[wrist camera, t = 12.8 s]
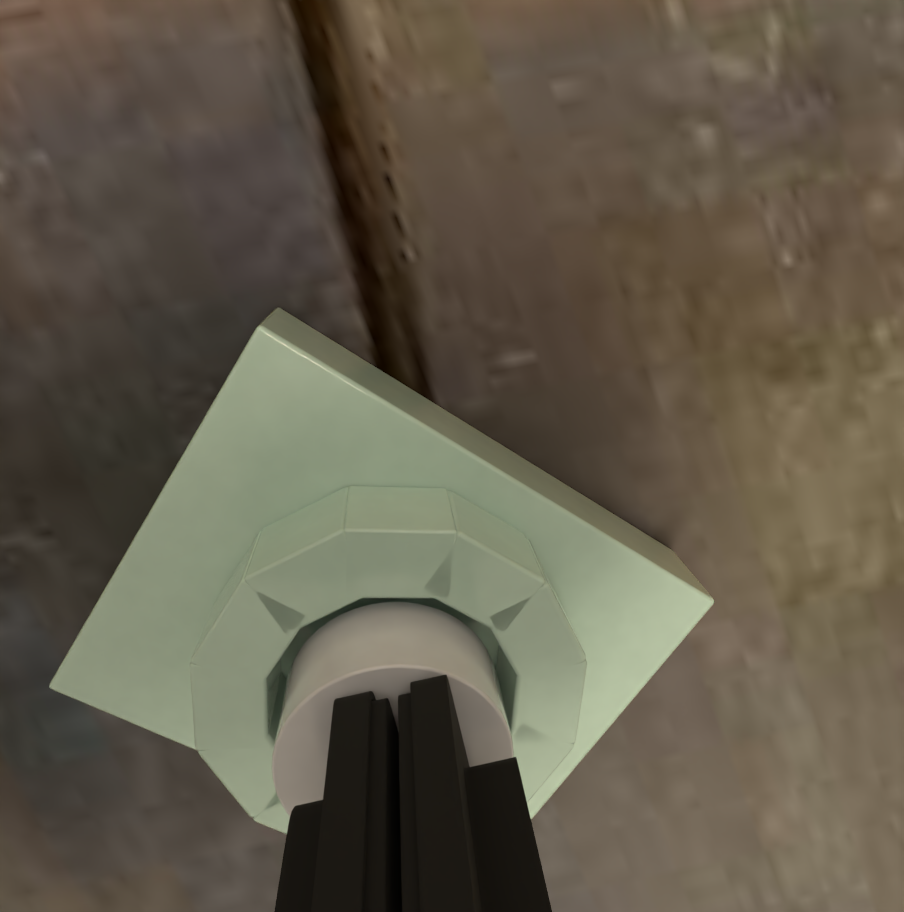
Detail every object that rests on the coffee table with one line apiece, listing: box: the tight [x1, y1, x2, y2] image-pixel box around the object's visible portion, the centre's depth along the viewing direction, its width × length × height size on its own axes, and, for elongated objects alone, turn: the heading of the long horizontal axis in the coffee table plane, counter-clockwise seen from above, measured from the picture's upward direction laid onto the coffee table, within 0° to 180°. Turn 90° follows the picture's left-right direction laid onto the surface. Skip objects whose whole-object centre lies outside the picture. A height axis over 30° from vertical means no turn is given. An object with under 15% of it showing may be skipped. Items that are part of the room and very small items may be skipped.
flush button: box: [272, 602, 514, 816], centre depth 11 cm, size 4×4×2 cm
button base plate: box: [50, 308, 714, 834], centre depth 14 cm, size 10×8×4 cm
